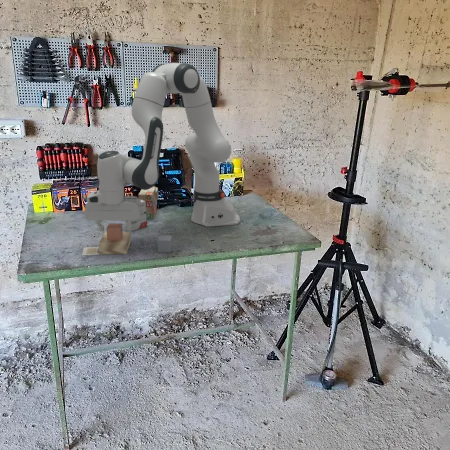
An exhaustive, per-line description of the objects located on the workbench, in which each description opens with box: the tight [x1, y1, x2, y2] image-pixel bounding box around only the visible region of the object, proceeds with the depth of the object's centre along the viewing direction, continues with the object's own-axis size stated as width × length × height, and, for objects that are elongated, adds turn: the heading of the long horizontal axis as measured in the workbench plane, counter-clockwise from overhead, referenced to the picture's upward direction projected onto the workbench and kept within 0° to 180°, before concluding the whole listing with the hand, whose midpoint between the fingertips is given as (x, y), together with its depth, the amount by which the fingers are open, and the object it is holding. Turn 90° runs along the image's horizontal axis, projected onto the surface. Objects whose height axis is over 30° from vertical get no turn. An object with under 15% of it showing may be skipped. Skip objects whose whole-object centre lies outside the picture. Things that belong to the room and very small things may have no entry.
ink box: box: [123, 200, 148, 232], centre depth 178 cm, size 9×5×12 cm, turn 135°
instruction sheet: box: [81, 246, 101, 257], centre depth 157 cm, size 9×7×1 cm
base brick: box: [98, 231, 132, 255], centre depth 160 cm, size 10×12×4 cm
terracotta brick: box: [105, 222, 124, 241], centre depth 158 cm, size 5×5×5 cm
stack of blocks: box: [138, 186, 160, 221], centre depth 197 cm, size 21×6×12 cm, turn 2°
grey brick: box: [157, 234, 173, 253], centre depth 159 cm, size 5×5×5 cm
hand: (114, 230), depth 158 cm, fingers open, 8 cm apart
